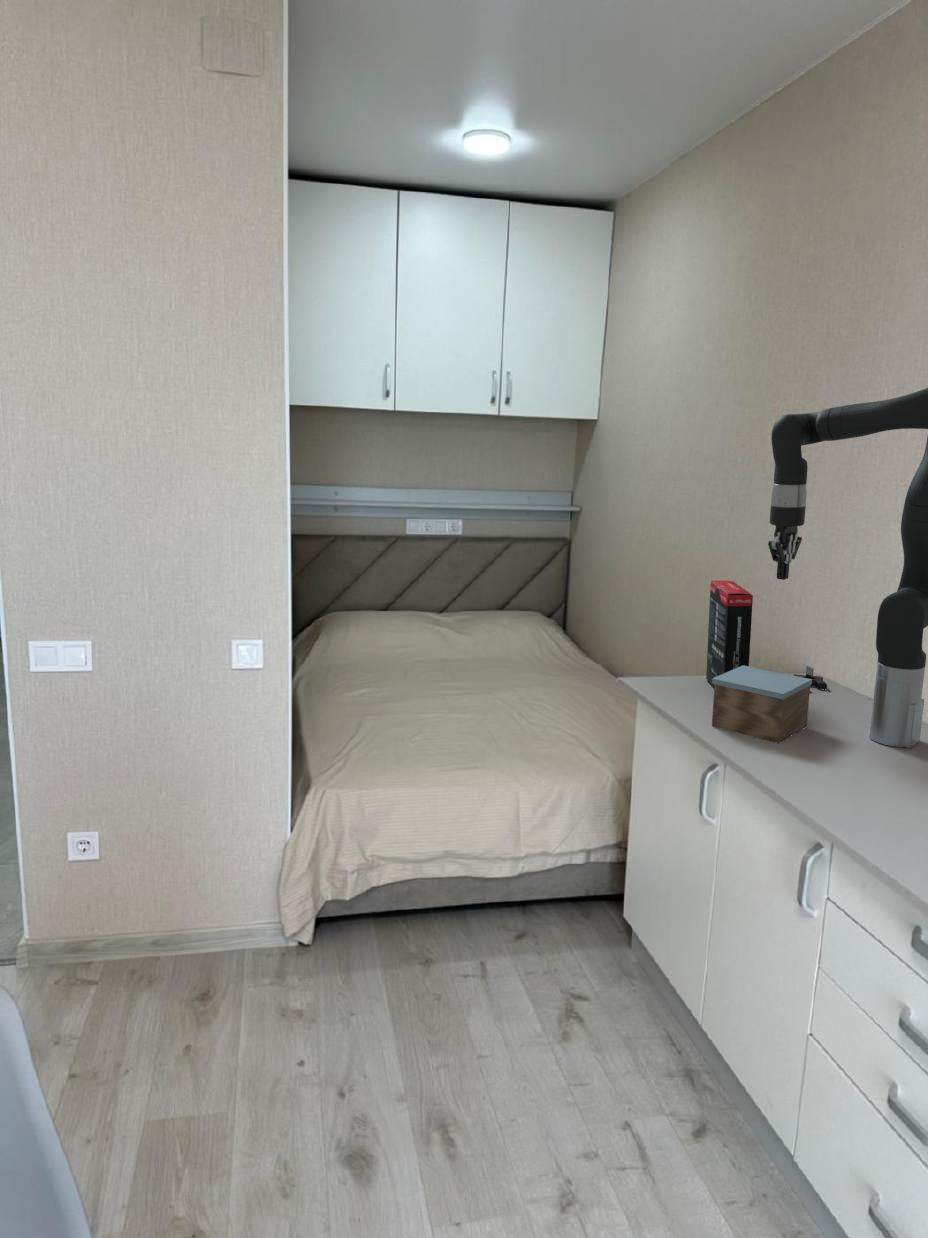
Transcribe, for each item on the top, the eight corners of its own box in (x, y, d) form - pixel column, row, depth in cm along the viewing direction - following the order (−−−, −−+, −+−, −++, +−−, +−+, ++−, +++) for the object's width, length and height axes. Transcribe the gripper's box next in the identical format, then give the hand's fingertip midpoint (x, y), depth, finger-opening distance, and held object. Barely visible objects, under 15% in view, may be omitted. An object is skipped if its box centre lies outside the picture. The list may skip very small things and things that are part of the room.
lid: (812, 684, 201) (813, 678, 200) (782, 699, 190) (783, 694, 190) (743, 670, 212) (743, 664, 212) (711, 684, 201) (712, 678, 201)
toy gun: (776, 680, 239) (778, 663, 238) (824, 684, 235) (826, 667, 234) (776, 691, 230) (778, 673, 229) (826, 695, 226) (828, 677, 225)
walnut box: (806, 727, 203) (810, 685, 201) (779, 743, 193) (782, 699, 191) (740, 711, 214) (743, 671, 211) (711, 726, 204) (714, 684, 202)
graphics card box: (748, 700, 222) (756, 592, 216) (720, 700, 222) (727, 592, 216) (729, 680, 239) (735, 579, 232) (703, 680, 239) (708, 579, 232)
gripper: (791, 507, 196) (785, 585, 200) (816, 502, 205) (810, 577, 209) (759, 505, 201) (753, 580, 205) (785, 500, 210) (779, 573, 214)
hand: (782, 578), depth 207 cm, fingers closed
